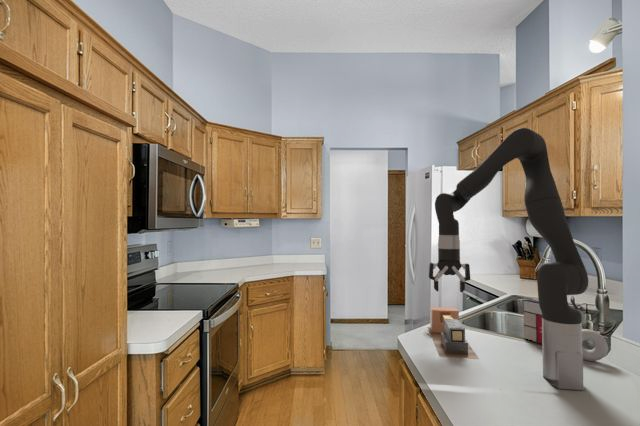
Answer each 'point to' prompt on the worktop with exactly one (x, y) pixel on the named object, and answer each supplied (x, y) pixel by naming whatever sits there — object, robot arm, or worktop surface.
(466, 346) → the sleeve
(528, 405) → the worktop surface
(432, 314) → the socket block
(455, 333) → the yellow square peg
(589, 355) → the donut
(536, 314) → the grey and red box
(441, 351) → the base board
